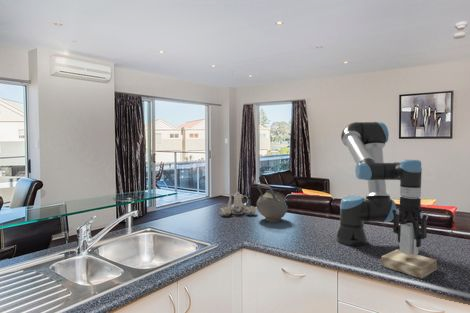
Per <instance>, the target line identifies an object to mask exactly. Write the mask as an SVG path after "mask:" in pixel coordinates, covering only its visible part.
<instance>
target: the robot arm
mask: <svg viewBox="0 0 470 313" xmlns="http://www.w3.org/2000/svg"><path fill="white" fill-rule="evenodd" d="M389 134H390V133H389V129H388V127H387V125H386V124H385V123H384V122H379V121H378V122H377V121H368V122H367V121H366V122H365V121H364V122H360V121H359V122H358V121H355V122H351V123H349V124H347V125H346V126H345V127H344V128H343V129H342V131H341V134H340V137H341V142H342V143H343V145H344V146H345V147H347V149H348V151H349V152H350V154H351V156H352V158H353V160H354V163H355V164H356V165H355V171H354V172H355V177H356V178H357V179H358V180H363V181H364V180H365V181H367V188H368V189H367V190H368V193H367V194H366V195H365V198H364V196H360V195H358V196H356V195H351V196H346V197H343V198H342V199H341V200H340V206H339V209H340V210H339V211H340V212H339V216H340V217H339V221H340V222H339V227H338V230H337V233H336V241H337V242H338V243H339V244H343V245H347V246H355V247H356V246H365V245H366V244H367V243H368V237H367V234H366V231H365V227H364V224H365V223H390V222H391V221H393V225H392V226H393V228H392V229H393V230H392V233H394V234H397V243H399V244H400V239H401V224H406V223H408V220H410V221H411V223H413V228H414V232H415V236H416V238H415V239H414V253H413V255H419V248H421V246H422V240H424V239H426V238H427V233H428V232H427V230H428V229H427V228H428V219H429V214H427V213H424V212H422V210H421V205H422V204H421V202H422V201H421V200H422V199H421V197H422V171H423V169H422V168H423V167H422V161H420V160H419V159H402V160H401V161H400V162H399V161H398V162H396V161H395V162H384V151H383V148H385V146H386V144H387V143H388V141H389V137H390V135H389ZM390 180H391V181H399V187H400V188H399V195H400V197H399V207H398V209H397V206H396V202H395V201H394V200H393V199H392V198H391V196H390V195H391V194H388V193H387V185H386V181H390ZM400 215H401V221H400ZM419 217H420V220H421V221H420V225H419Z"/></svg>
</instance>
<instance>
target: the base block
mask: <svg viewBox="0 0 470 313" xmlns="http://www.w3.org/2000/svg"><path fill="white" fill-rule="evenodd" d="M380 260H381V263H380V266H382V267H385V268H387V269H390V270H394V271H397V272H400V273H404V274H406V275H409V276H412V277H415V278H418V279H424V278H426V277H428V276H429V275H430V274H432V273H434V272H435V271H437V269H438V268H437V264H438V259H434V258H432V257H427V256H424V255H419V254H417V255H413V254H412V255H406V254H403V253H401V252H400V249H395V250H392V251H390V252H388V253H386V254H383V255H381V259H380Z"/></svg>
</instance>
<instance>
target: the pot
mask: <svg viewBox="0 0 470 313" xmlns="http://www.w3.org/2000/svg"><path fill="white" fill-rule="evenodd" d="M261 187H263V188H267V189H268V190H265V193H264V194H263V192H262V189H261ZM257 189H258V191H259V193H260V195H259V197H258V199H257V200H256V207H257V209H256V210H257V211H258V213H259V215H261V216H263V217H264V218H265V221H267V222H271V223H278V222H281V220H282V218H284V216H285V215H286V214H287V212H288V205H287V202H286V198H287V196H286V195H285V194H284V193H281V192H278V191H274V190H273V188H272V187H271V186H270V185H268V184H265V183H259V184H257Z"/></svg>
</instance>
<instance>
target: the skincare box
mask: <svg viewBox="0 0 470 313" xmlns="http://www.w3.org/2000/svg"><path fill="white" fill-rule="evenodd" d="M415 238H416V236H415V232H414V228H413V223H412V222H406V224H401V239H400V243H399V250H400V252H401V253H403V254H406V255H412V254H413V253H414V239H415Z"/></svg>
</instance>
